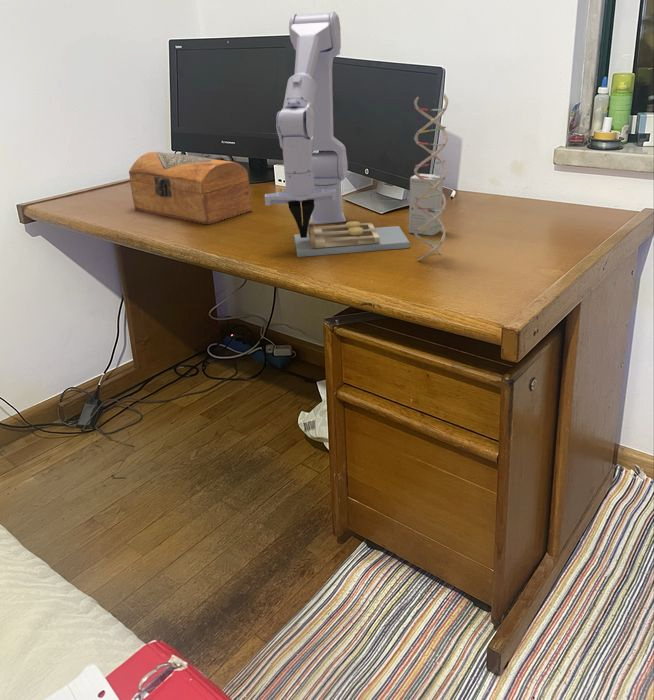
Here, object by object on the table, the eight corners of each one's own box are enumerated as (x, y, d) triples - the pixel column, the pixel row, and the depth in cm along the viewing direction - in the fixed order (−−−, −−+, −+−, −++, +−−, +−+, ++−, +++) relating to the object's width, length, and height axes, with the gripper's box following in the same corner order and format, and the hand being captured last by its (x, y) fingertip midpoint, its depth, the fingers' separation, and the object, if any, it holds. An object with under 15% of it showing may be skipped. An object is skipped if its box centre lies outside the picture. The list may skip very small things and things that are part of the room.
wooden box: (130, 211, 182) (120, 157, 176) (180, 197, 193) (173, 146, 186) (202, 228, 163) (194, 168, 157) (253, 211, 174) (247, 156, 168)
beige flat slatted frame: (308, 233, 149) (307, 218, 148) (371, 227, 150) (371, 213, 148) (311, 248, 139) (310, 233, 138) (379, 242, 140) (379, 227, 138)
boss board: (294, 239, 150) (293, 223, 148) (398, 231, 151) (398, 214, 149) (297, 257, 139) (296, 239, 137) (409, 247, 140) (409, 230, 139)
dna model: (433, 250, 138) (435, 91, 125) (453, 258, 133) (457, 94, 120) (405, 256, 135) (404, 95, 122) (424, 265, 130) (426, 98, 117)
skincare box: (408, 233, 149) (407, 177, 144) (416, 227, 153) (416, 172, 147) (434, 236, 146) (435, 179, 141) (442, 230, 150) (443, 174, 145)
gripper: (262, 177, 134) (269, 244, 140) (336, 172, 134) (340, 239, 140) (262, 170, 140) (268, 234, 146) (333, 164, 141) (336, 229, 147)
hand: (303, 236), depth 144 cm, fingers closed
